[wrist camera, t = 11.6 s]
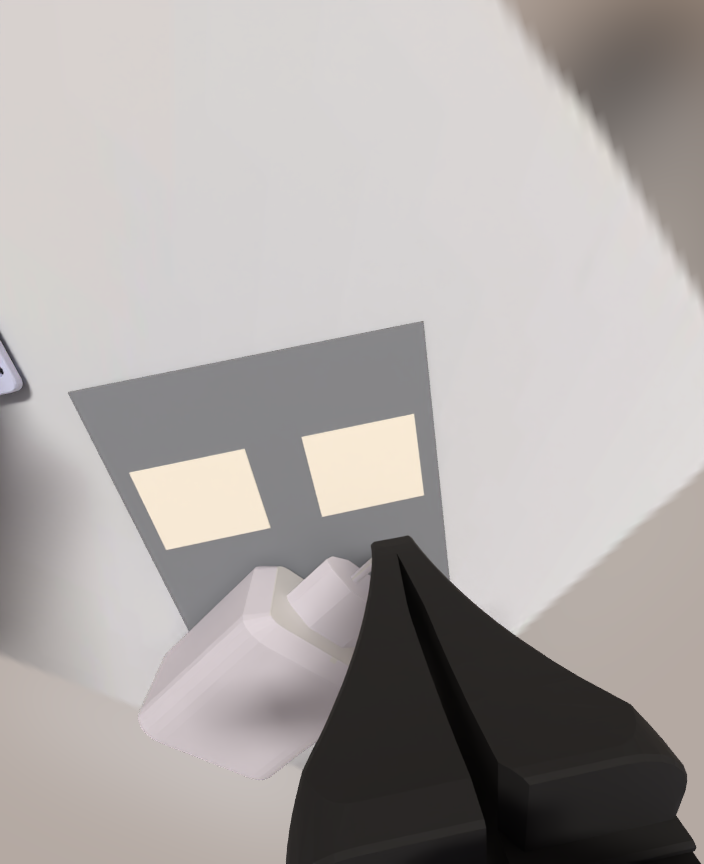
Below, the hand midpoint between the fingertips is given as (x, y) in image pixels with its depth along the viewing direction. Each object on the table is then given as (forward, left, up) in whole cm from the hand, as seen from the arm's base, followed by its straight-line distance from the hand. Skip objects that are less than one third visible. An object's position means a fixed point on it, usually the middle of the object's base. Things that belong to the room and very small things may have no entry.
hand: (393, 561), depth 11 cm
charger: (+9, -6, -8) cm, 13 cm away
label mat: (+2, -4, -7) cm, 9 cm away
